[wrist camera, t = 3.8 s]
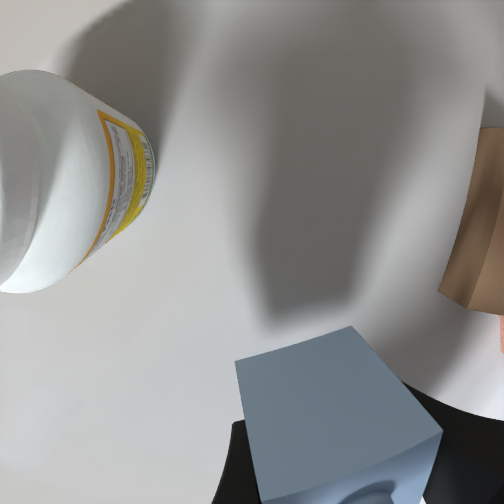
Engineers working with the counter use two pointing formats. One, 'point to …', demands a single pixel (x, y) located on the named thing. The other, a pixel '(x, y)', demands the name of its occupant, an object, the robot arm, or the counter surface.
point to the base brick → (481, 233)
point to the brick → (502, 332)
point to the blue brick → (334, 425)
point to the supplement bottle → (63, 177)
